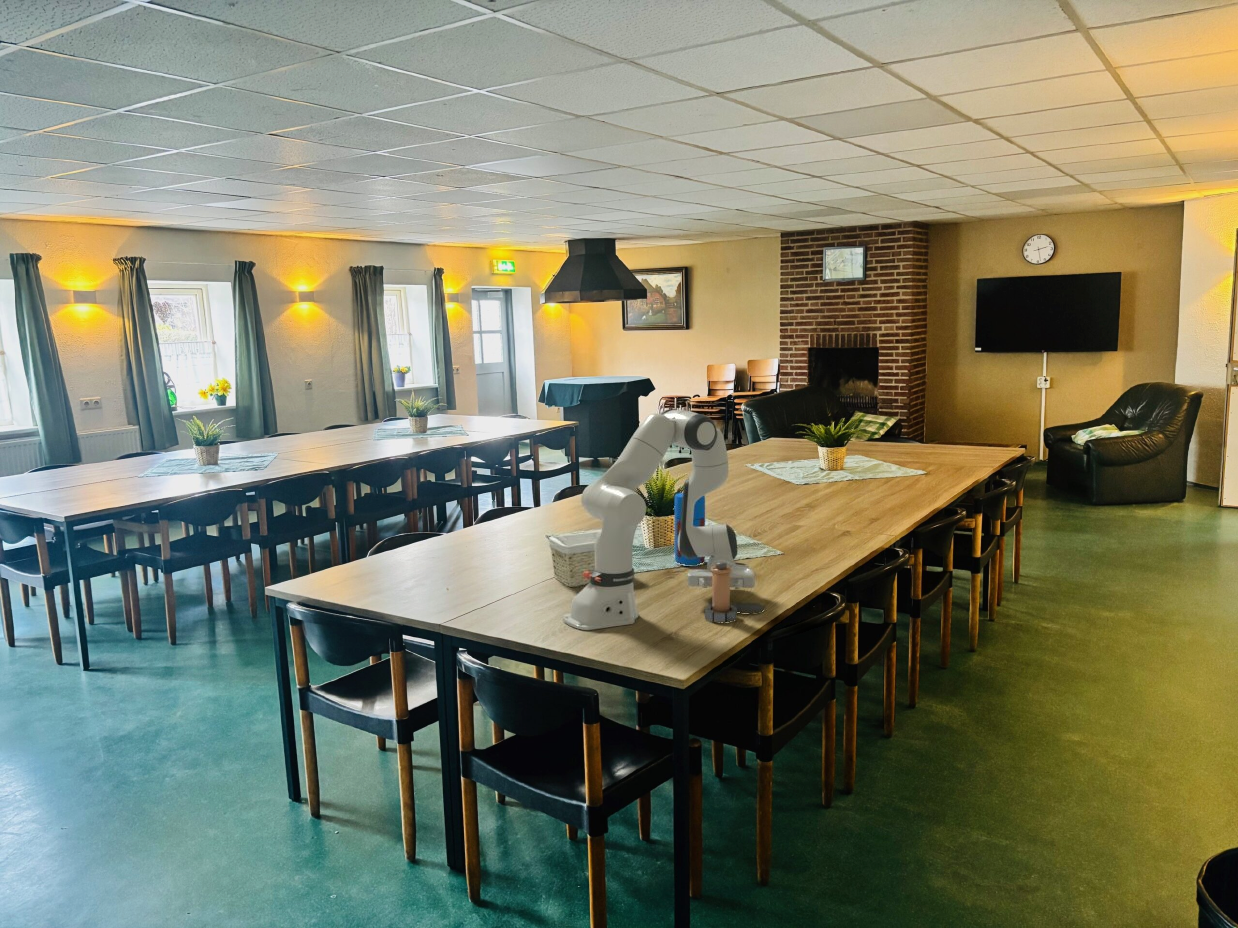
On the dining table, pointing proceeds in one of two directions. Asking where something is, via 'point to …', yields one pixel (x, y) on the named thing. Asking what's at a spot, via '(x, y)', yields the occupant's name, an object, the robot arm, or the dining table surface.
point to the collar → (720, 614)
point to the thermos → (697, 522)
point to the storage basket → (573, 557)
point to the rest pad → (749, 607)
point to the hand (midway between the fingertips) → (720, 585)
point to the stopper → (721, 587)
